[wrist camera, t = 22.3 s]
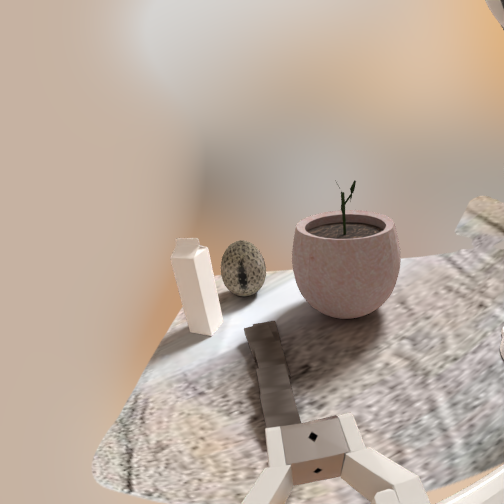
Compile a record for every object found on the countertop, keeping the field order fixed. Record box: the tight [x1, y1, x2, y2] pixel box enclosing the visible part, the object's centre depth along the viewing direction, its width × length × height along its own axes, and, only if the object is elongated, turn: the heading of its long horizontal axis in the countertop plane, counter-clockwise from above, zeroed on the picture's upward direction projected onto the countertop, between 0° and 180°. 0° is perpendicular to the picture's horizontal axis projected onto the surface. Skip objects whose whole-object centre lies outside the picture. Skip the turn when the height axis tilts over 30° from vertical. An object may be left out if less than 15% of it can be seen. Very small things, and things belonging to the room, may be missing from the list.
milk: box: [170, 238, 223, 336], centre depth 65 cm, size 6×6×22 cm
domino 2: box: [244, 322, 275, 362], centre depth 59 cm, size 5×2×8 cm
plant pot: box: [292, 181, 400, 319], centre depth 63 cm, size 24×24×30 cm
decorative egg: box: [221, 241, 266, 296], centre depth 80 cm, size 12×12×15 cm
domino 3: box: [254, 341, 290, 379], centre depth 53 cm, size 5×2×8 cm
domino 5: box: [260, 389, 301, 429], centre depth 40 cm, size 5×2×8 cm
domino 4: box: [256, 364, 295, 400], centre depth 46 cm, size 5×2×8 cm
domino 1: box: [253, 321, 281, 343], centre depth 63 cm, size 5×2×8 cm
